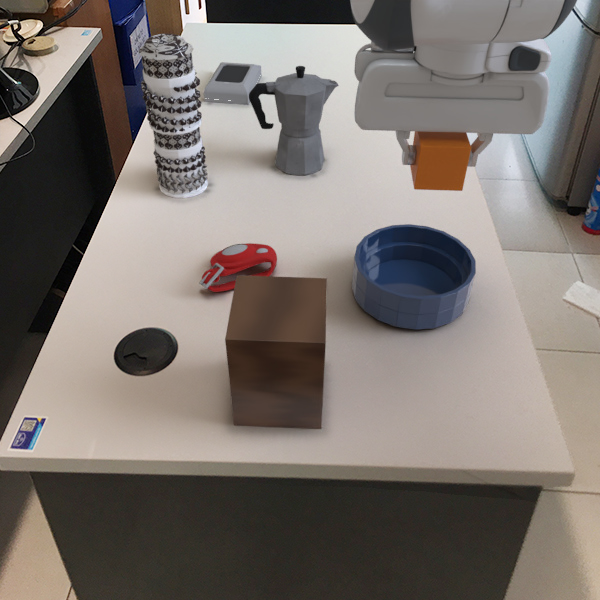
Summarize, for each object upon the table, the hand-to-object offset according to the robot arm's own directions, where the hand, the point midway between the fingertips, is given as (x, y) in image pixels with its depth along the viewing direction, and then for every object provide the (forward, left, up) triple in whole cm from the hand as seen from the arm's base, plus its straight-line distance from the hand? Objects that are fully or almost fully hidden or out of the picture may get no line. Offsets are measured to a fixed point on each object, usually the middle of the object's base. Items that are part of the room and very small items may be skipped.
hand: (438, 163), depth 73 cm
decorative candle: (+46, -9, -22) cm, 52 cm away
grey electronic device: (+61, -47, -22) cm, 81 cm away
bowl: (+1, -2, -22) cm, 22 cm away
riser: (+8, +23, -22) cm, 33 cm away
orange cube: (0, 0, -2) cm, 2 cm away
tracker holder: (+25, +7, -22) cm, 35 cm away
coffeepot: (+33, -25, -22) cm, 47 cm away
